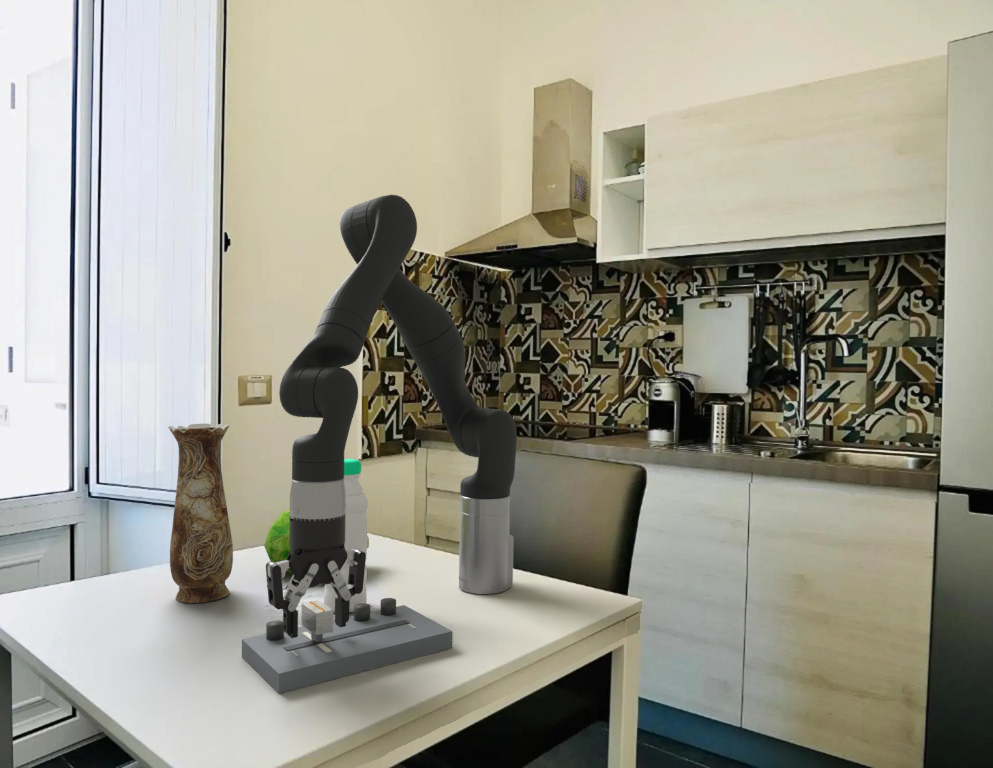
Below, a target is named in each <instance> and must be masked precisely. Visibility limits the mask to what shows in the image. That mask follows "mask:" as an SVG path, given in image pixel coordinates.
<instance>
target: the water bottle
mask: <svg viewBox="0 0 993 768" xmlns="http://www.w3.org/2000/svg"><path fill="white" fill-rule="evenodd" d="M361 473H362V462H361V461H360V460H358V459H356V458H355V459H354V458H344V484H345V492H346V518H345V544H344V547H345V550H346V551H352V549H354V548H356V549H358V550H360V551H363V552H365V554H366V556H367V551H368V549H367V536H368V516H367V510H368V505H369V502H368V499H367V497H366V494H365V493H364V490H363V487H362V485H361V484H360V482H359V477H361ZM366 563H367V559H366V560H365V571H364V582H363V591H362V592H361V593H360V594H355V595H353V596H352V597H351V598H350V607H349V614H350V612H352V613H354V605H356V604H360V603H368V602H367V600H368V599H367V597H368V594H367V586H366V585H367V577H368V575H367V574H368V573H367V572H368V571H367V570H368V569H367V566H366V565H367V564H366ZM349 566H350V565H349V564H348V563H347V560H346V561H345V563H344V565H343V566H342V568H341V570H340V573H341V575H342V576H343V578H344V580H345V582H346V586H347V585H348V576H349ZM323 594H324V595H323V604H325V605H326V606H328V607H330V608H331V609H333V614H335V598H337V595H336V593H335V591H334V589H333V588H332V586H331V585H330V584H326V585H324V592H323Z"/></svg>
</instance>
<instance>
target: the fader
mask: <svg viewBox="0 0 993 768" xmlns="http://www.w3.org/2000/svg"><path fill="white" fill-rule="evenodd" d="M300 617H301V619H300V620H301V622H300V623H301V626H304V627H305V628H307V629H308V630H309V631H311V639H313V640H314V641H315V642H319V641H323V634H325V633H329V632H333V620H334V612H333V609H331V608H330V607H328V606H326V605H325V604H324V602H322V601H320V600H319V599H317V600H313V601H307V602H303V603H301V616H300Z"/></svg>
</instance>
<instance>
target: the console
mask: <svg viewBox="0 0 993 768" xmlns="http://www.w3.org/2000/svg"><path fill="white" fill-rule="evenodd" d="M265 626H266V627H265V629H266V632H265V634H260V635H256V636H255V635H254V636H250V637H245V638H241V658H242V659H243V660H244V661H245V662H246V663H247V664H248V665H249V666H251V668H252V669H253V670H254V671H255V672H256V673H257V674H258V675H259V676H260V677H261V678H263V680H265V682H266V683H267V684H268V685H270V687H272V688H273V689H274V690H275V692H276V693H278V694H282V693H286V692H289V691H294V690H297V689H301V688H305V687H309V686H314V685H317V684H320V683H325V682H329V681H332V680H335V679H339V678H343V677H347V676H350V675H354V674H359V673H362V672H367V671H369V670H373V669H377V668H381V667H384V666H389V665H392V664H396V663H399V662H404V661H408V660H411V659H415V658H419V657H423V656H426V655H427V656H428V655H430V654H433V653H434V654H435V653H438V652H442V651H446V650H449V649H453V636H454V635H453V634H454V633H453V630H451V629H450V628H448V627H446V626H444V625H443V624H440V623H438V622H437V621H435V620H433V619H431V618H429V617H427V616H425V615H424V614H422V613H420V612H418V611H416V610H415V609H412V608H411V607H408V606H407V605H405V604H404V605H398V606H397V599H396V598H393V597H386V598H385V597H384V598H382V599H380V607H379V610H374V611H373V610H372V611H371V604H369V603H368V602H366V603H360V604H356V605H354V612H353V615H351V616H350V615H349V620H348V622H346V626H345V627H339V626H337V625H336V624H335V619H333V632H329V633H325V634H323V641H319V642H315V641H314V640H313V639H311V631H309V630H308V629H307V628H305V627H304V626H303V625H301V626H298V637H296V638H291V637H290V636H288V634H287V633H285V632H284V630H283V620H271V621H268V622H266V625H265Z"/></svg>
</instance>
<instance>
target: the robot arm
mask: <svg viewBox="0 0 993 768" xmlns="http://www.w3.org/2000/svg"><path fill="white" fill-rule="evenodd" d="M339 227H340V229H339V230H340V234H341V237H342V240H343V243H344V244H345V247H346V249H347V251H348V252H349V255H350V256H351V258H352V259H353V260H354V262H355V264H356V266H355V268H354V269H353V270H352V271H351V272H350V273H349V274H348V276H347V277H346V278H345V279H344V280H343V281H342V282H341V284H340V285H339V286H338V287H337V289H336V290H335V291H334V292H333V293H332V296H331V297H330V298H329V300H328V302H327V303H326V305H325V307H324V309H323V311H322V314H321V316H320V319H319V322H318V324H317V326H316V330H315V331H314V334H313V336H312V337H311V339H310V340H308V342H307V343H306V344H305V346H304V347H302V349H301V350H300V352H299V353H298V354H297V356H296V357H294V359H293V360H292V361H291V363H290V364H289V366H288V367H287V368H286V370H285V372H284V374H283V375H282V378H281V381H280V385H279V390H278V391H279V393H278V394H279V402H280V404H281V406H282V408H283V410H284V411H285V412H286V414H289V415H290V416H293V417H297V418H315V419H317V418H318V419H322V422H321V424H320V427H319V429H318V431H317V432H316V433H311V434H306V435H303V436H300V437H298V438H295V440H294V442H293V444H292V450H291V451H292V452H291V461H292V462H291V485H290V493H289V510H290V532H289V545H290V552H289V555H288V557H287V559H286V560H284V561H280V562H276V563H274V562H272V561H270V560H268V561H267V562H266V563H265V573H266V586H267V599H268V603H269V604H270V605H271V606H273V607H274V608H275V609H277V610H282V621H283V630H284V632H285V633H287V634H288V636H290V637H291V638H296V637H298V627H299V610H297V608H298V605H299V603H300V601H301V599H302V598H303V597H304V596H305V595H306V593H307V591H308V589H309V588H314V587H317V586H319V585H324V586H325V585H326V584H330V585H331V586H332V588H333V589H334V591H335V593H336V595H337V598H335V613H334V620H335V624H336V625H337V626H339V627H345V626H346V622H348V620H349V617H350V613H349V607H350V598H351V597H352V596H353V595H355V594H360V593H361V592H362V591H363V582H364V571H365V560H366V561H367V555H366V554H365V552H363V551H360V550H358V549H356V548H354V549H352V551H346V550H345V547H344V544H345V518H346V492H345V484H344V459H345V449H346V447H347V445H346V444H347V442H348V441H347V440H348V436H349V434H350V428H351V425H352V421H353V418H354V415H355V411H356V409H357V404H358V400H359V399H358V398H359V388H358V387H359V386H358V383H357V380H356V378H355V376H354V374H353V373H352V372H350V370H349V369H347V368H345V367H346V366H350V365H352V364H354V363H355V362H356V361H358V359H359V357H360V355H361V352H362V350H363V347H364V344H365V342H366V339H367V336H368V334H369V331H370V327H371V324H372V321H373V320H374V317H375V314H376V312H377V310H378V307H379V305H380V304H381V303H382V304H383V306H384V308H385V309H386V311H387V313H388V314H389V317H390V318H391V320H392V322H393V324H394V326H395V327H396V329H397V330H398V333H399V334H400V336H401V338H402V342H403V343H404V345H405V346H406V349H407V350H408V352H409V354H410V355H411V358H412V359H413V361H414V363H415V364H416V366H417V367H418V369H419V372H420V373H421V375H422V376H423V378H424V380H425V382H426V384H427V386H428V388H429V390H430V392H431V394H432V396H433V398H434V400H435V402H436V404H437V406H438V409H439V412H440V413H441V415H442V417H443V421H444V424H445V425H446V428H447V431H448V433H449V435H450V438H451V440H452V442H453V443H454V445H455V447H456V448H457V449H458V451H459V452H461V453H462V454H464V455H466V456H468V457H473V458H477V459H478V460H477V468H476V470H475V473H473V474H472V475H469V476H466V477H463V479H461V482H460V492H459V493H460V495H459V496H460V497H459V499H460V500H459V501H460V502H459V547H458V548H459V553H458V557H459V559H458V561H459V563H458V565H459V566H458V588H459V589H460V590H461V591H464V592H466V593H470V594H477V595H491V594H498V593H503V592H505V591H506V590H508V589H509V588H512V587H513V586H514V585H513V584H514V583H513V582H514V543H515V541H514V536H513V535H512V534H510V514H511V513H510V512H511V511H510V510H511V507H510V505H511V487H512V485H513V481H514V477H515V471H516V457H517V455H516V453H517V444H518V443H517V441H518V438H517V437H518V436H517V426H516V422H515V420H514V418H513V416H512V415H511V414H510V413H509V412H508V411H506V410H503V409H497V408H487V407H486V408H484V407H480V406H479V405H478V404H477V403H476V401H475V399H474V398H473V396H472V394H471V392H470V389H469V388H468V386H467V384H466V383H467V382H466V379H465V367H466V366H465V365H466V347H465V344H464V340H463V337H462V336H461V334H460V331H459V329H458V328H457V325H456V323H455V321H454V319H453V317H452V316H451V314H450V313H449V311H448V310H447V308H446V307H445V306H444V305H443V304H442V303H440V302H439V301H438V300H437V299H436V298H435V297H433V296H432V295H430V294H429V293H427V292H426V291H425V290H423V289H422V288H421V287H420V286H418V285H416V284H415V283H414V282H413V281H412V280H410V279H409V278H408V277H407V275H405V273H404V272H403V270H401V266H402V264H403V263H404V261H405V259H406V258H407V256H408V254H409V252H410V251H411V249H412V247H413V245H414V243H415V240H416V237H417V232H418V223H417V217H416V214H415V211H414V209H413V208H412V206H411V204H410V203H409V202H408V201H407V200H406V199H405V198H404V197H402V196H400V195H397V194H387V195H382V196H379V197H378V196H377V197H375V198H373V199H370V200H369V199H368V200H366V201H364V202H361V203H358V204H355V205H352V206H350V207H348V208H347V209H344V211H343V212H342V214H341V216H340V221H339ZM346 560H347V563H348V564H349V565H350V566H349V576H348V585H347V586H346V582H345V580H344V578H343V576H342V575H341V573H340V570H341V568H342V566H343V565H344V563H345V561H346ZM288 568H289V570H290V571H291V572H292V573H293V574H292V573H291V574H292V576H291V578H290V580H289V582H288V585H287V586H286V587H287V589H286V592H285V594H284V590H283V589H284V588H283V578H285V576H286V572H287V571H286V570H287V569H288Z"/></svg>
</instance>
